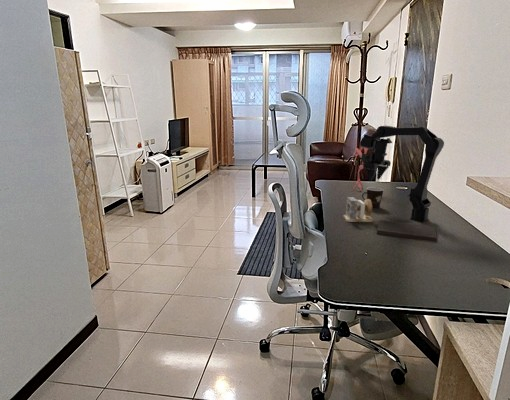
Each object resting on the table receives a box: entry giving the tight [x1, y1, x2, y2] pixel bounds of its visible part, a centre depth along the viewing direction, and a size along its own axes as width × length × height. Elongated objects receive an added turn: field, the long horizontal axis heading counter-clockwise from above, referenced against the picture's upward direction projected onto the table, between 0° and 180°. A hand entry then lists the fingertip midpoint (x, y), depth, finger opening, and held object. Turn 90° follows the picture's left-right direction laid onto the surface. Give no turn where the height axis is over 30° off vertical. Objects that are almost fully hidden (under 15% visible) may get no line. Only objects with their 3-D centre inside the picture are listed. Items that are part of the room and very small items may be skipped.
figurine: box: [352, 146, 371, 191], centre depth 229 cm, size 15×26×35 cm, turn 158°
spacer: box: [356, 199, 365, 218], centre depth 168 cm, size 2×7×7 cm, turn 1°
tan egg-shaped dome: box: [357, 198, 373, 217], centre depth 168 cm, size 9×8×8 cm
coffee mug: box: [361, 186, 384, 209], centre depth 191 cm, size 12×9×10 cm
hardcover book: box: [376, 219, 438, 243], centre depth 153 cm, size 16×23×2 cm
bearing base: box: [342, 196, 374, 223], centre depth 168 cm, size 12×7×10 cm, turn 91°
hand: (374, 180), depth 184 cm, fingers open, 9 cm apart
